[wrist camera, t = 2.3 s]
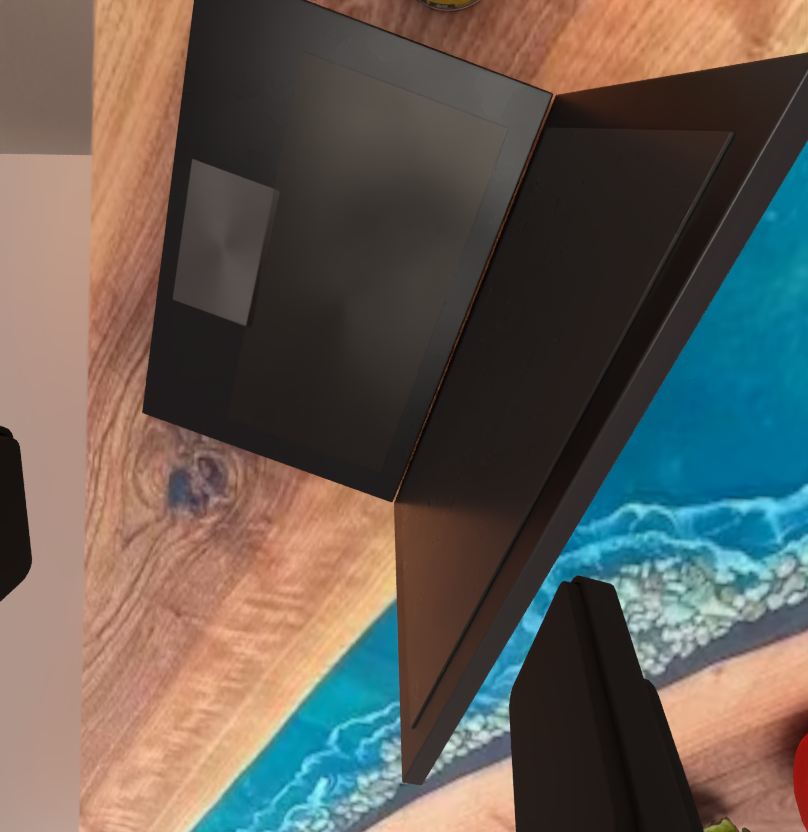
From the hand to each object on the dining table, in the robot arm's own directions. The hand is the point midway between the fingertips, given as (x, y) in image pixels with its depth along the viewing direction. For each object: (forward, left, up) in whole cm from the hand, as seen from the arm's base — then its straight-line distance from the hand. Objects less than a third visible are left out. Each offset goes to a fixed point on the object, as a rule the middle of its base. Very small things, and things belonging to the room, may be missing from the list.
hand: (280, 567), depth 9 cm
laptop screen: (+4, -2, -14) cm, 15 cm away
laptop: (-6, -2, -24) cm, 25 cm away
